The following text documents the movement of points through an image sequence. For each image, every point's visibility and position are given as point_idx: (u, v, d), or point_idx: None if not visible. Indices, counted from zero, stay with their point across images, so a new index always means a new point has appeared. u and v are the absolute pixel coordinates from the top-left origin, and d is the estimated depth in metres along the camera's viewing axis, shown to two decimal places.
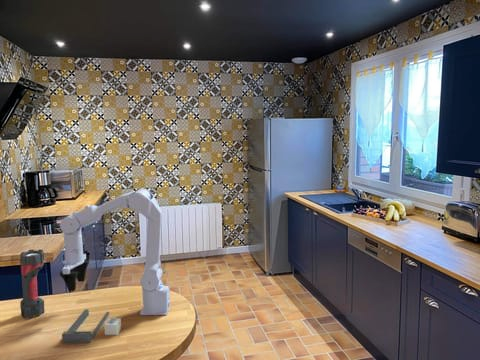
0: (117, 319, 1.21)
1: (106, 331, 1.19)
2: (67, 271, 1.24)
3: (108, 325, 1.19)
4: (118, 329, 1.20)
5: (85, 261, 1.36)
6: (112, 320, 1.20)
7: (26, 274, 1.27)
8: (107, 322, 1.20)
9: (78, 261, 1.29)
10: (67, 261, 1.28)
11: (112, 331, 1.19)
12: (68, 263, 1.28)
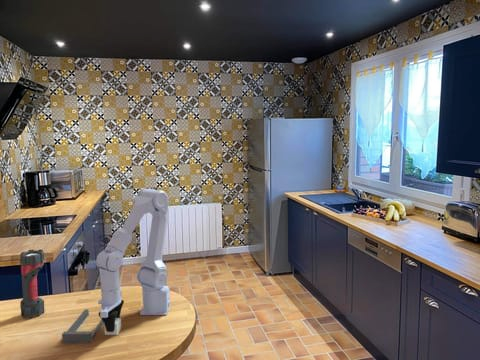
0: (117, 319, 1.21)
1: (106, 331, 1.19)
2: (105, 314, 1.12)
3: None
4: (118, 329, 1.20)
5: None
6: None
7: (26, 274, 1.27)
8: None
9: (116, 301, 1.18)
10: (104, 302, 1.17)
11: None
12: (105, 304, 1.17)
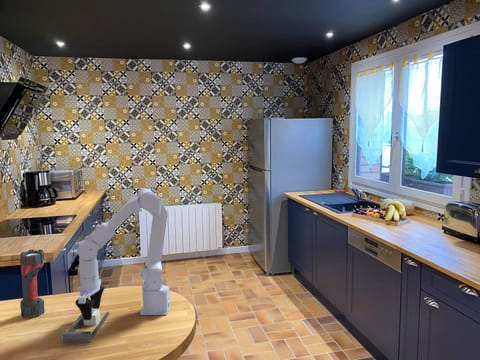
0: (96, 311, 1.27)
1: (85, 322, 1.25)
2: (83, 300, 1.18)
3: None
4: (97, 320, 1.26)
5: (100, 287, 1.30)
6: None
7: (26, 274, 1.27)
8: None
9: (94, 289, 1.23)
10: (82, 289, 1.23)
11: (90, 322, 1.25)
12: (83, 291, 1.22)
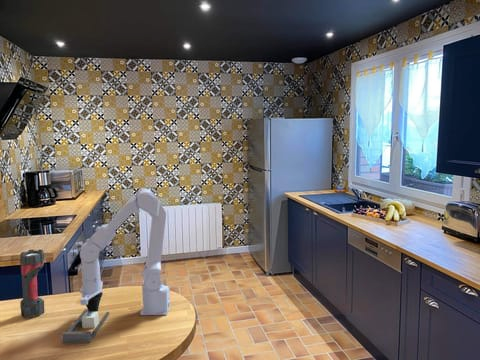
0: (95, 313, 1.26)
1: (84, 324, 1.23)
2: (85, 302, 1.20)
3: (85, 318, 1.23)
4: (95, 322, 1.24)
5: None
6: (89, 313, 1.25)
7: (26, 274, 1.27)
8: (85, 315, 1.24)
9: (96, 290, 1.25)
10: (84, 290, 1.24)
11: (89, 324, 1.23)
12: (86, 292, 1.24)
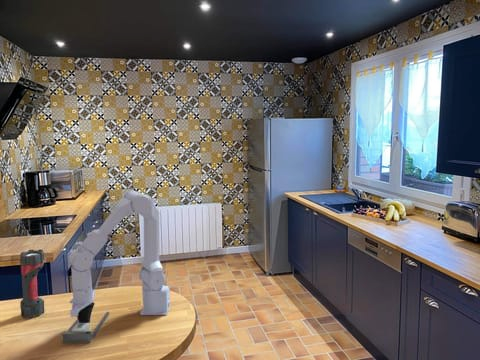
0: (86, 324, 1.18)
1: None
2: (75, 314, 1.12)
3: (76, 330, 1.16)
4: None
5: None
6: (80, 325, 1.17)
7: (26, 274, 1.27)
8: (75, 327, 1.17)
9: (87, 301, 1.18)
10: (75, 301, 1.17)
11: None
12: (76, 303, 1.17)
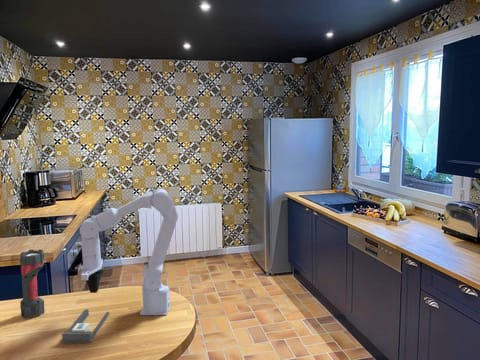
0: (86, 324, 1.18)
1: None
2: (86, 277, 1.20)
3: (76, 330, 1.16)
4: None
5: None
6: (80, 325, 1.17)
7: (26, 274, 1.27)
8: (75, 327, 1.17)
9: (96, 267, 1.25)
10: (85, 267, 1.25)
11: None
12: (86, 269, 1.24)
